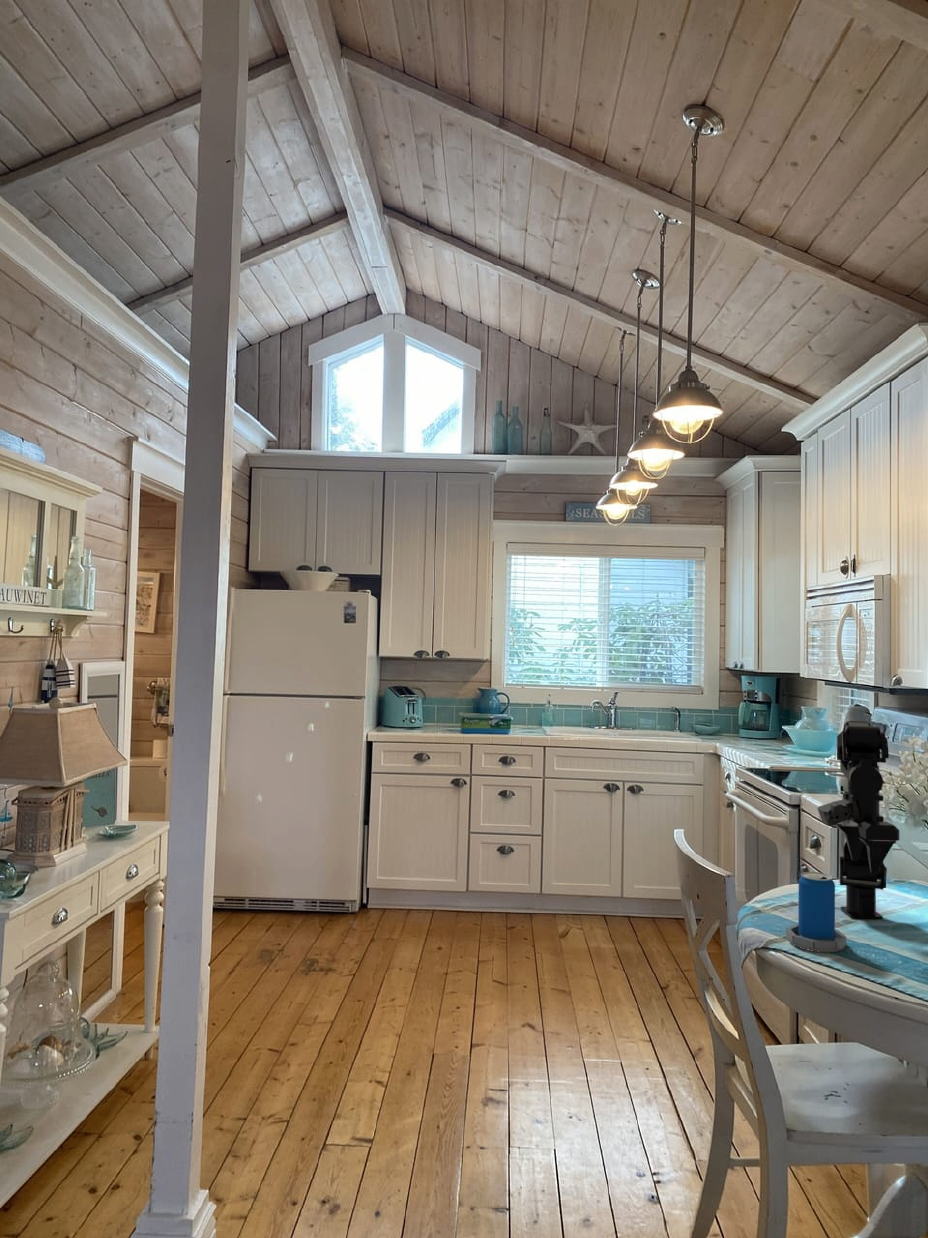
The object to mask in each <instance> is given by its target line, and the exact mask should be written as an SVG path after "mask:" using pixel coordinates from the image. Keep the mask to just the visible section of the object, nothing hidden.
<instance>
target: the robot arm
mask: <svg viewBox="0 0 928 1238" xmlns="http://www.w3.org/2000/svg"><path fill="white" fill-rule="evenodd" d="M888 742H889V741H888V737H887V736H886V733H885V732H884V731H881V727H880V726H877V725H876V726H874V725H873V726H871V722H868V721H866V720H848V721H845V728H844V729H843V730H842V731H840V733H839V734H838V735H837V736H836V760H837V761H839V764H840V765H839V767H840V772H842V774H843V776H844V777H845V778H846V779H847V791H843V793H842V799H840V800H839V799H838V800H835V801H830V802H828V803H826V804H823V805H820V806H818V807H817V808H816V809H817V811H818V814H819V817H820V820H821V823H823V824H825V825H827V826H828V827H834V826H835V827H836V828H838V830H840V832H842V833H843V835H844V839H845V843H844V844H843V846H842V847H843V849H842V856H841V855H840V856H839V862H838V864H839V865H838V866H839V869H838V876H839V877H838V879H839V886H843V887H844V886H845V888H846V889H845V895H846V896H845V898H846V903H845V905H846V906H840V908H839V909H840V910H841V911H842V912H843V913H844V914H846V915H847V916H848V917H850V918H852V919H879V920H882V919H883V915H882V914H880V913H879V912H878V911H877V894H876V893H877V890H882V891H883V890H884V889H887V874H888V873H887V872H888V867H886V866H885V863H884V861H885V859H886V857H887V856H888V853H889V852H890V850H891V848H892V847H893V846H894V845H895V844H896V843H897V841H900V830H899V829H898V827H897V826H895V824H892V823H889V822H888V821H885V820H884V819H885V818H884V816H883V815H881V814H880V802H884V795H882V794H880V791H881V790H882V789H883V787H884V778H883V776H882V773H880V766H879V765H878V763H883V764H885V763H887V759H889V755H890V754H889V752H890V751H889V743H888Z"/></svg>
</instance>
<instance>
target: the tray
mask: <svg viewBox="0 0 928 1238" xmlns="http://www.w3.org/2000/svg"><path fill="white" fill-rule="evenodd" d="M785 936H786V937H787V941H789V942H790V943H791V944H794V945H796V946H798V947H801V948H804V949H809V950H813V951H819V952H818V953H820V952H835V953H839V952H838V951H840V952H841V950H842V951H844V949H845V945H847V936H846V935H845V934H844V933H842V932H841V931H840V930H839V929H836V928H835V938H834V939H833V940H831V941H823V940H811V939H808V938H804V937H802V936H801V935H800V934H799V932H798V923H795V924H793V925H791V926H789V927H787V928H785ZM789 942H788V943H789ZM790 943H789V944H790ZM791 944H790V945H791Z"/></svg>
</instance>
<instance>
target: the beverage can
mask: <svg viewBox="0 0 928 1238" xmlns="http://www.w3.org/2000/svg"><path fill="white" fill-rule="evenodd" d="M797 924H798V932H799V934H800V935H801V936H802V937H804V938H808V939H811V940H823V941H831V940H833V939H834V938H835V929H836V884H835V882H834V881H833V876H832V875H830V874H828V873H825V872H818V871H817V872H816V871H804V872H801V873H800V877H799V879H798V923H797Z"/></svg>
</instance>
